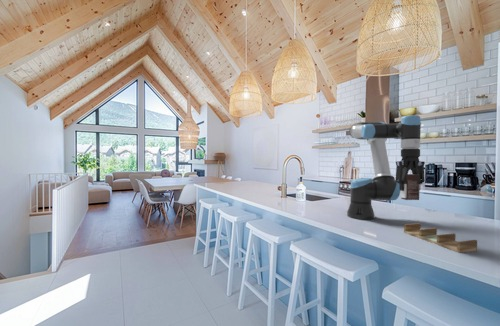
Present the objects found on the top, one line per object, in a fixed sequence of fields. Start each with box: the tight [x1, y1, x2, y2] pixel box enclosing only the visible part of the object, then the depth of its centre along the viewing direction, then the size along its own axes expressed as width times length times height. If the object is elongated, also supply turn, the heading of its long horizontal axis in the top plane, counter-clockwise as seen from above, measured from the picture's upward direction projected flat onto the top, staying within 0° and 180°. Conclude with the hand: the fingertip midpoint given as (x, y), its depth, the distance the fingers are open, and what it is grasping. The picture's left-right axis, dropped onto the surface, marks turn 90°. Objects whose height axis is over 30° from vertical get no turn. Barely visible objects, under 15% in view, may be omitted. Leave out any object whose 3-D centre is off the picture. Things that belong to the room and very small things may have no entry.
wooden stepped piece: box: [403, 222, 478, 254], centre depth 101 cm, size 24×9×4 cm, turn 13°
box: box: [400, 173, 420, 201], centre depth 109 cm, size 6×4×12 cm
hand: (409, 197), depth 109 cm, fingers closed on box, 6 cm apart
